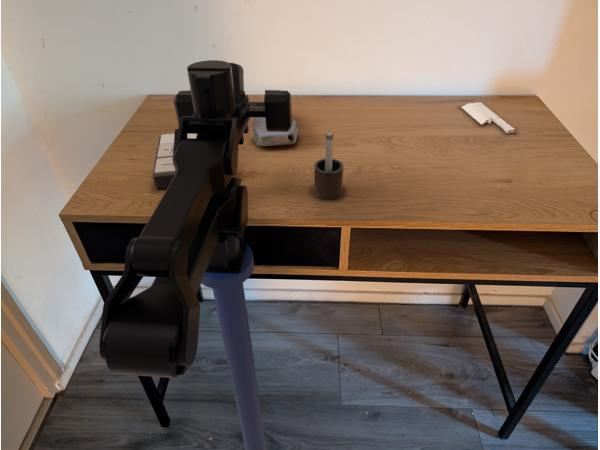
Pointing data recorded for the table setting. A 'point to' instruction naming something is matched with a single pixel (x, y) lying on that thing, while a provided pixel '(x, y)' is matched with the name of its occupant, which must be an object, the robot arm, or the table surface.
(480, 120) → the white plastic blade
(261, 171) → the table surface
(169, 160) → the calculator
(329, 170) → the stylus
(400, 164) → the table surface
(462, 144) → the table surface
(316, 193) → the pen cup
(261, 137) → the handheld device
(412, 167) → the table surface
